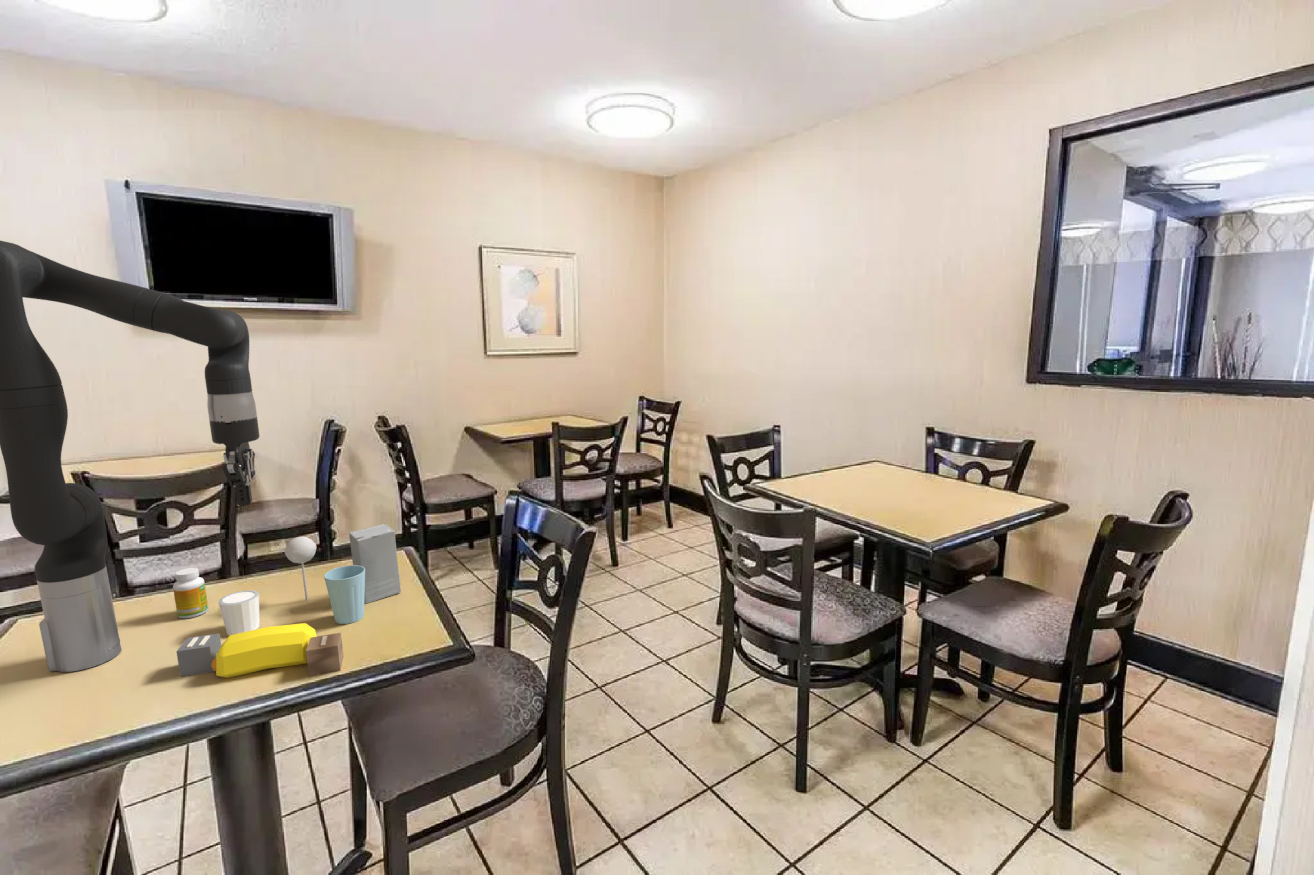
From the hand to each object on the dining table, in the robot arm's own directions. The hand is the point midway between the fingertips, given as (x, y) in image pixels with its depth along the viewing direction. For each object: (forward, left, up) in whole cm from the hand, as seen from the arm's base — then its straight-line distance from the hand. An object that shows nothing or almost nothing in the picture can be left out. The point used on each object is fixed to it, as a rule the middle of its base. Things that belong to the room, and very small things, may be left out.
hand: (245, 504), depth 119 cm
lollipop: (+6, +13, -27) cm, 31 cm away
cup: (+16, 0, -27) cm, 32 cm away
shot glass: (-4, +3, -27) cm, 28 cm away
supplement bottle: (-16, +15, -27) cm, 35 cm away
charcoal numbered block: (-7, -11, -27) cm, 30 cm away
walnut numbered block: (+14, -19, -27) cm, 36 cm away
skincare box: (+21, +10, -27) cm, 36 cm away
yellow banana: (+4, -14, -27) cm, 31 cm away
